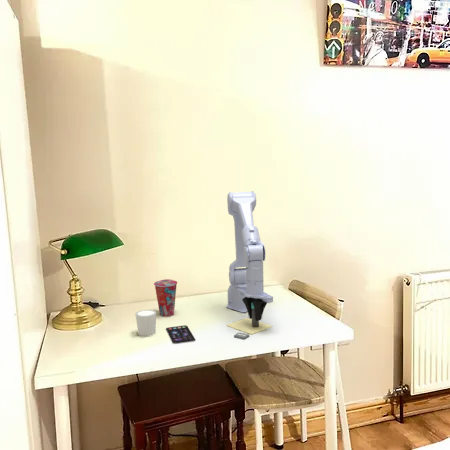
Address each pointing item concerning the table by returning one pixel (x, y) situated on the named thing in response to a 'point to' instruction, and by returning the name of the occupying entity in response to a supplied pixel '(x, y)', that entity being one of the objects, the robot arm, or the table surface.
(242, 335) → the word tile
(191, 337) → the smartphone
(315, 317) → the table surface
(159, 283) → the cup
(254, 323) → the marker
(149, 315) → the white short cylinder
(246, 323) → the note pad
